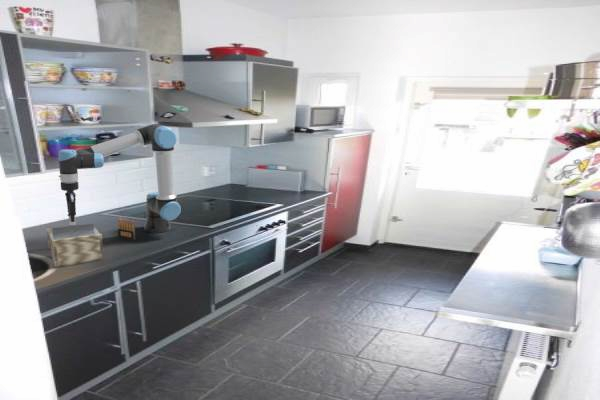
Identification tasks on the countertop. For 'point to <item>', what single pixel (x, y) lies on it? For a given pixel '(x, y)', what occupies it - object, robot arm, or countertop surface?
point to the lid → (73, 231)
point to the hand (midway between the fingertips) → (72, 227)
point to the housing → (75, 250)
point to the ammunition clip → (126, 229)
